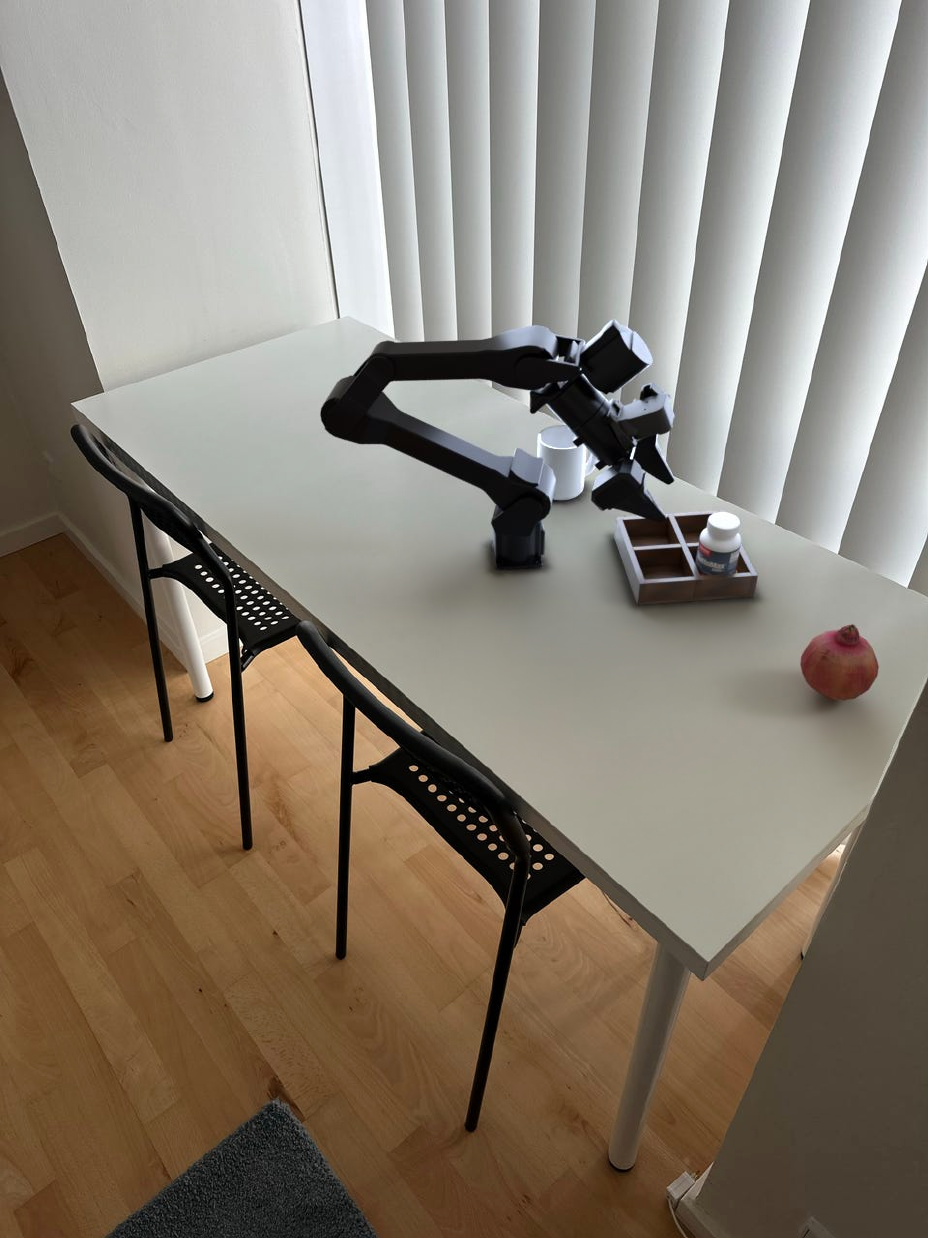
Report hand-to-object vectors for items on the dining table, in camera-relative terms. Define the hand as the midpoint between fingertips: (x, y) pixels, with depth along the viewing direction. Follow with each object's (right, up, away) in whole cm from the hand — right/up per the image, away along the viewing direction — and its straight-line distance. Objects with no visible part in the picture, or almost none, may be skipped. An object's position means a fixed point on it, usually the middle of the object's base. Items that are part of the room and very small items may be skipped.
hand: (667, 501), depth 121 cm
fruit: (+17, -24, -11) cm, 31 cm away
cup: (-10, +5, +25) cm, 27 cm away
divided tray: (+4, -8, +8) cm, 12 cm away
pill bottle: (+7, -9, +5) cm, 13 cm away
